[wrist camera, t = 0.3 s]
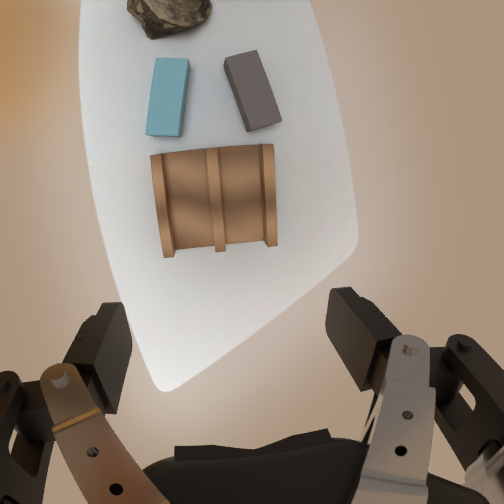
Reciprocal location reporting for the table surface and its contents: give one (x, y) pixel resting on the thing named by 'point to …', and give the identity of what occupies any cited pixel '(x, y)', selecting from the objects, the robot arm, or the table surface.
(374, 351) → the robot arm
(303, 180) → the table surface
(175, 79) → the tall teal pillar
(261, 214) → the block
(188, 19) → the brown rock
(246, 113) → the dark gray block
